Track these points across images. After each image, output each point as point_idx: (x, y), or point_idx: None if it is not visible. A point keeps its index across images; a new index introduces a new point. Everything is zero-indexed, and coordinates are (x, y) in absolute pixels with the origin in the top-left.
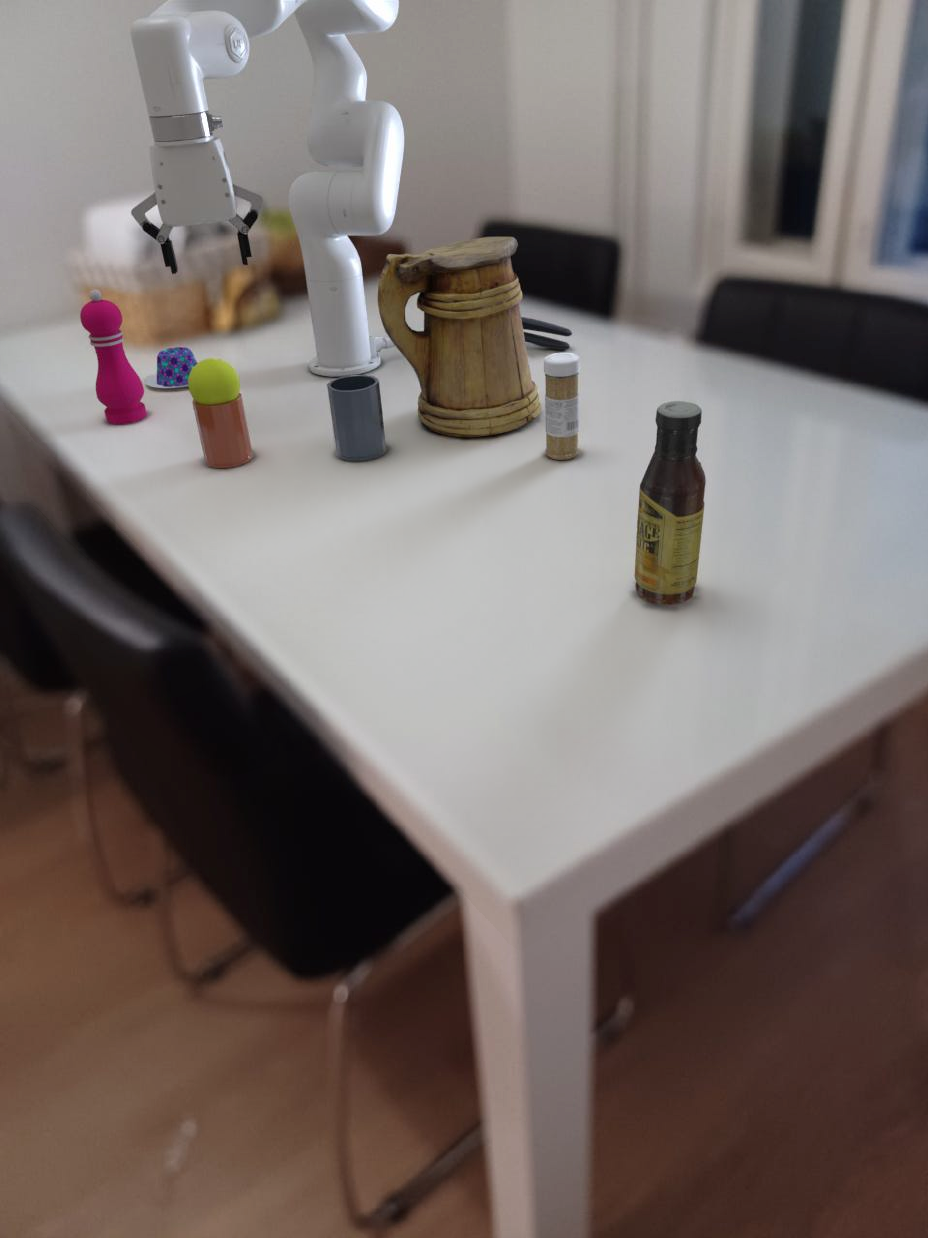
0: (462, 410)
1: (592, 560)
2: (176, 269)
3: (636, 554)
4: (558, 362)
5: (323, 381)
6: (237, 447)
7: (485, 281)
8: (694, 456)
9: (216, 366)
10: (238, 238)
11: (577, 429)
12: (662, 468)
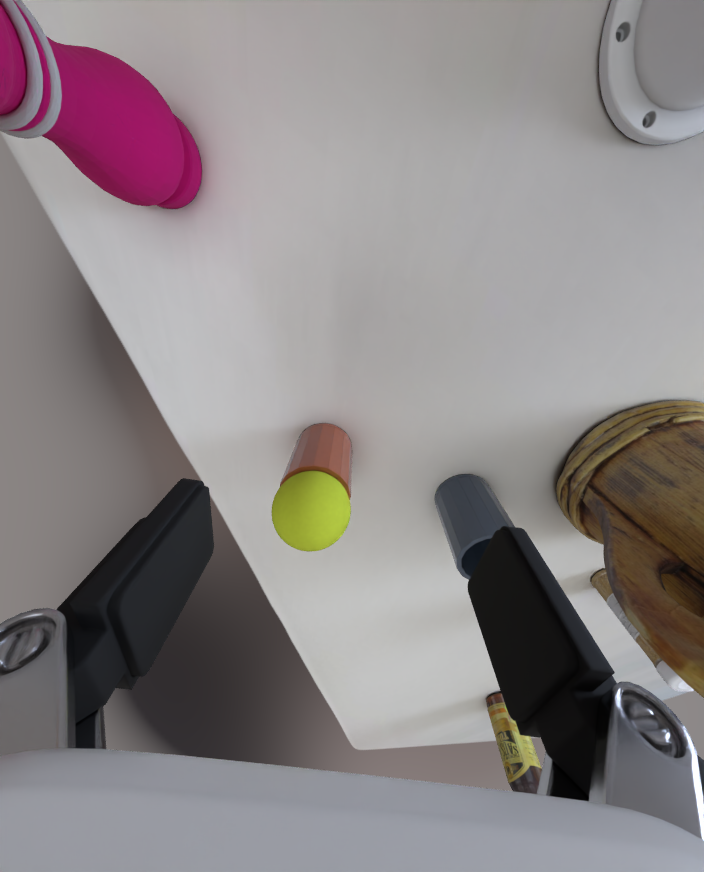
0: (591, 535)
1: (494, 673)
2: (208, 558)
3: (495, 725)
4: (673, 689)
5: (580, 143)
6: None
7: None
8: None
9: (315, 550)
10: (510, 709)
11: None
12: None
